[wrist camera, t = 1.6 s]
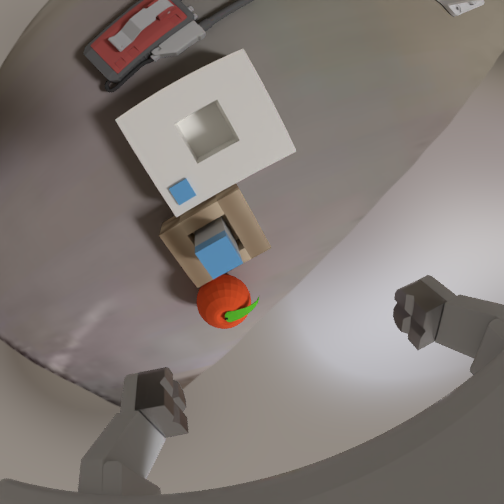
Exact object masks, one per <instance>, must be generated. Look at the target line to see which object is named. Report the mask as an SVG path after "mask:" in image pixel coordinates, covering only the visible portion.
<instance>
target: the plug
mask: <svg viewBox="0 0 504 504" xmlns="http://www.w3.org/2000/svg"><path fill="white" fill-rule="evenodd" d="M195 254H196V256H197V257H198V259H199V260H200V261H201V263H202V264H203V266H204V267H205V269H206V270H207V271H208V273H209V274H210V276H211V277H212V278H213V279H215V278H217V277H219V276H221V275H223V274H224V273H226V272H228V271H230V270H232V269H234V268H235V267H237V266H239V265H241V264H243V261H242V258H241V255H240V252H239V249H238V246H237V243H236V240H235V236H234V235H233V233H232V231H231V230H230V228H229V226H228V225H227V223H226V221H225V220H224V218H223V216H220V217H219V218H217V219H215V220H213V221H212V222H210V223H208V224H206V225H205V226H203V227H201V228H199V229H198V230H196V231H195Z"/></svg>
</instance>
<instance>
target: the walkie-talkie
mask: <svg viewBox="0 0 504 504" xmlns="http://www.w3.org/2000/svg"><path fill="white" fill-rule="evenodd" d="M181 1H182V0H139V1H138V2H136V3H135V4H134V5H132V6H131V7H130V8H129V9H127V10H126V12H124V13H122V15H121V16H119V17H118V18H117V19H115V21H113V22H112V23H111V24H110V25H109V26H107V27H106V28H105V29H104V30H103V31H102V32H100V33H99V35H98V36H96V37H95V38H94V39H93V40H92V41H91V42H90V43H88V45H87V46H85V49H84V53H83V54H84V55H85V56H86V57H87V58H88V59H89V60H90V61H91V62H92V63H93V65H94V66H95V67H96V68H97V69H98V70H99V71H100V72H101V73H102V74H103V75H104V76H105V77H106V78H107V79H108V80H107V81H106V83H105V89H106V91H108V92H114V91H116V90H117V89H118V88H119V87H120V86H121V85H123V84H124V83H125V82H126V81H127V80H128V79H129V78H130V77H131V76H132V75H133V74H134V73H135V72H137V71H138V70H139V69H140V68H141V67H142V66H144V65H145V64H148V63H151V62H152V61H155V62H156V61H157V60H158V59H159V58H165V57H173V56H178V55H179V54H180V53H182V52H183V51H184V50H186V49H187V48H188V47H190V46H191V45H192V44H194V43H195V42H197V41H198V40H201V39H203V38H204V37H205V35H206V33H205V31H206V30H208V29H209V28H211V27H212V25H213V24H215V23H216V22H218V21H219V20H221V19H223V18H224V17H226V16H227V15H229V14H231V13H232V12H234V11H236V10H237V9H239V8H241V7H243V6H244V5H246V4H248V3H250V2H252V1H253V0H237V1H236V2H234V3H232V4H230V5H229V6H227V7H225V8H224V9H222V10H220V11H219V12H217V13H215V14H214V15H212V16H211V17H209V18H208V19H204V20H202V21H201V22H199V23H198V24H197V23H196V22H195V20H196V18H198V16H197V15H196V14H195V13H192V11H193V10H194V9H193V8H192V7H191V6H188V7H186V6H185V5H184V4H183V3H182V2H181ZM150 57H151V58H150ZM149 58H150V59H149ZM111 82H114V83H118V84H117V85H116V86H115V87H114V88H112V89H110V88H109V84H110V83H111Z"/></svg>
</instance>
